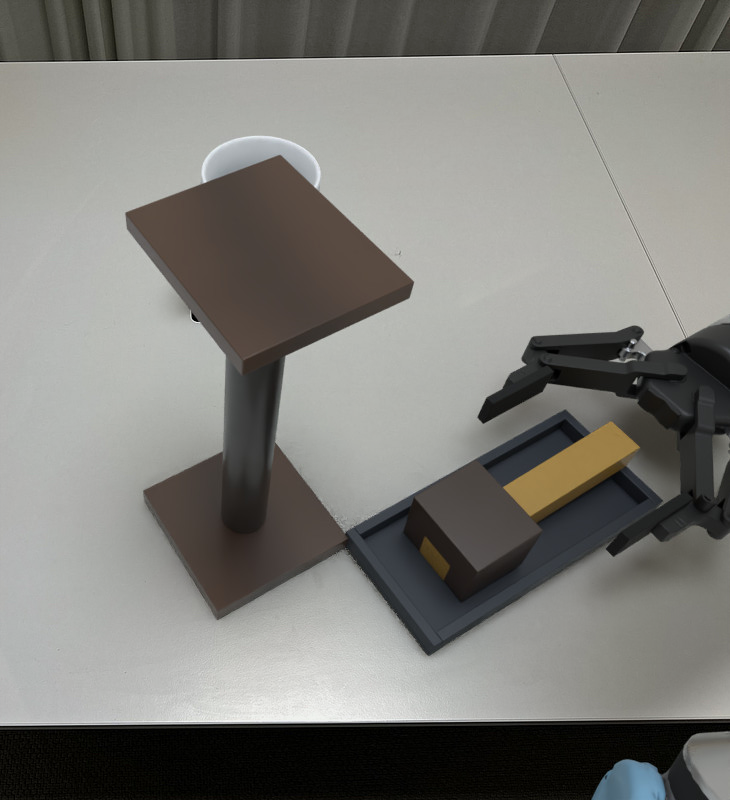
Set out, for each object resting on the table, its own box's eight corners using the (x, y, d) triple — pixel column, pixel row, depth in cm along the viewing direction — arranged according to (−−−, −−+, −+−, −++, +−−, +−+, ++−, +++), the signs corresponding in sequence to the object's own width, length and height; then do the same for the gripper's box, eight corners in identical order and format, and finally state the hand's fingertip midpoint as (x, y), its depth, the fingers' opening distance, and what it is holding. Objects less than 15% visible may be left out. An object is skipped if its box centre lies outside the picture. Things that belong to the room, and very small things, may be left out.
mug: (211, 348, 76) (211, 245, 65) (149, 282, 81) (140, 177, 71) (329, 284, 81) (347, 179, 70) (263, 226, 86) (271, 120, 76)
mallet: (580, 423, 68) (604, 382, 63) (645, 484, 64) (676, 445, 59) (402, 531, 63) (413, 496, 58) (461, 603, 60) (477, 572, 55)
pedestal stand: (264, 440, 69) (294, 148, 45) (346, 547, 63) (431, 274, 39) (144, 500, 66) (107, 218, 42) (217, 620, 60) (223, 369, 36)
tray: (557, 421, 70) (565, 408, 69) (652, 512, 65) (664, 500, 63) (342, 542, 63) (345, 531, 62) (428, 656, 58) (434, 646, 56)
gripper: (845, 499, 62) (657, 631, 56) (601, 302, 75) (428, 391, 69) (913, 446, 56) (711, 588, 50) (636, 242, 69) (449, 333, 63)
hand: (546, 474), depth 59 cm, fingers open, 13 cm apart
